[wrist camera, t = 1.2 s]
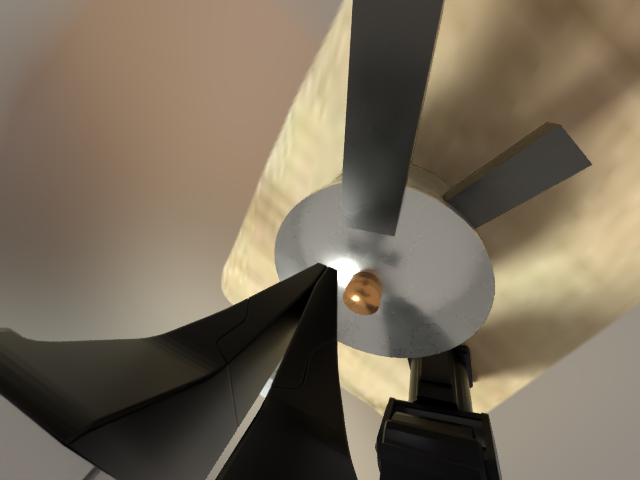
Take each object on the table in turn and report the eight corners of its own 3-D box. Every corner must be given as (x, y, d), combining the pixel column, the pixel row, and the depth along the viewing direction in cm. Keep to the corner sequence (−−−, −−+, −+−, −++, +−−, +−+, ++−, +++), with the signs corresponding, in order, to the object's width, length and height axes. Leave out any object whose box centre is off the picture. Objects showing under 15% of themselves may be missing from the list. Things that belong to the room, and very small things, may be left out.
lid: (448, 370, 19) (452, 426, 16) (287, 314, 23) (264, 348, 20) (648, 2, 7) (808, -68, 4) (260, 36, 12) (200, 14, 9)
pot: (377, 310, 27) (366, 356, 22) (291, 225, 26) (259, 254, 21) (600, 211, 15) (677, 262, 11) (462, 44, 14) (479, 16, 9)
